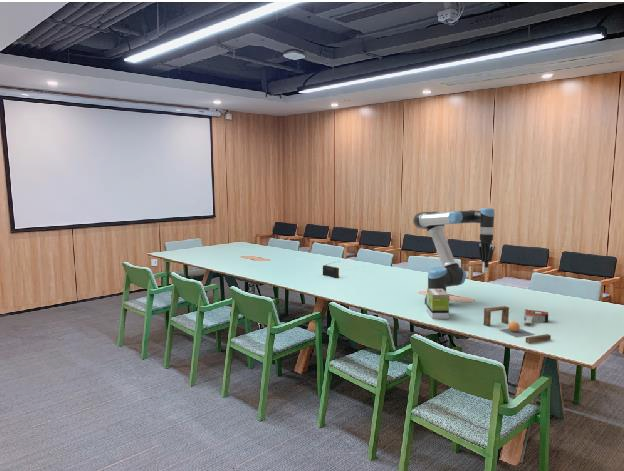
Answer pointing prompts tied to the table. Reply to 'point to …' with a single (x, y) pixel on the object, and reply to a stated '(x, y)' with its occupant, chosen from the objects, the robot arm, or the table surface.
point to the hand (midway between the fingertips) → (484, 272)
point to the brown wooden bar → (538, 338)
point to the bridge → (488, 310)
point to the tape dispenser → (534, 317)
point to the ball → (514, 326)
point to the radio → (331, 271)
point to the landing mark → (518, 333)
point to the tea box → (438, 303)
